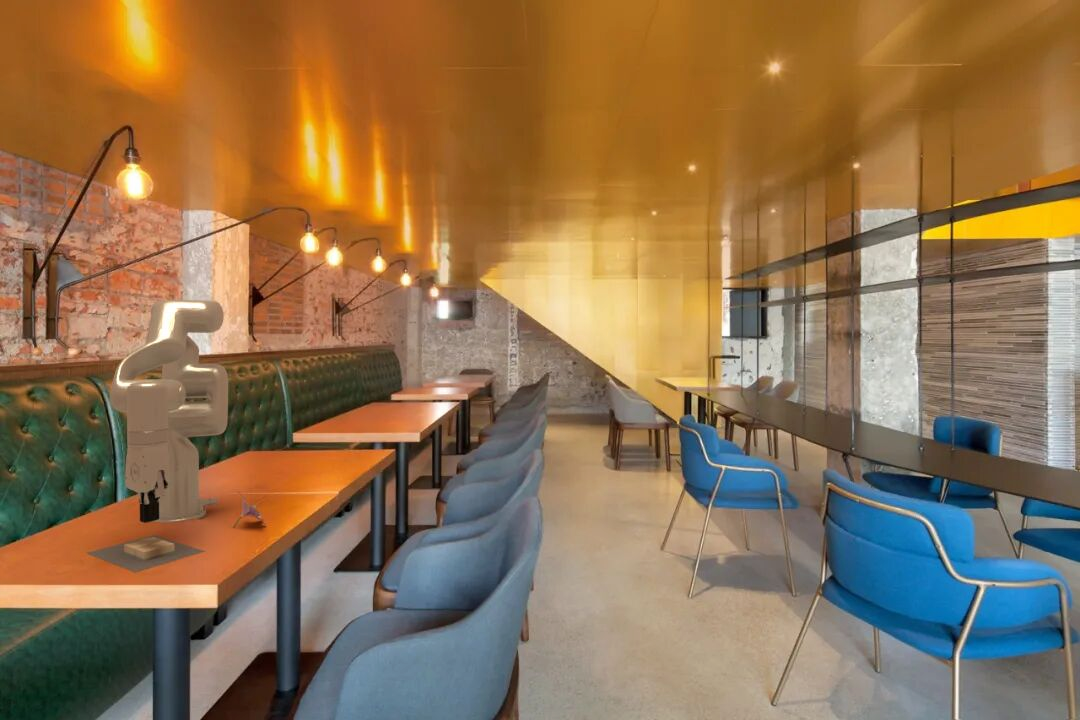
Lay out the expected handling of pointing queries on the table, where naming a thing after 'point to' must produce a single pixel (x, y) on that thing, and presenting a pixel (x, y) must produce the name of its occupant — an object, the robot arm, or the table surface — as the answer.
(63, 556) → the table surface
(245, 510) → the lily
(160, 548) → the tile
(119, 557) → the mat
